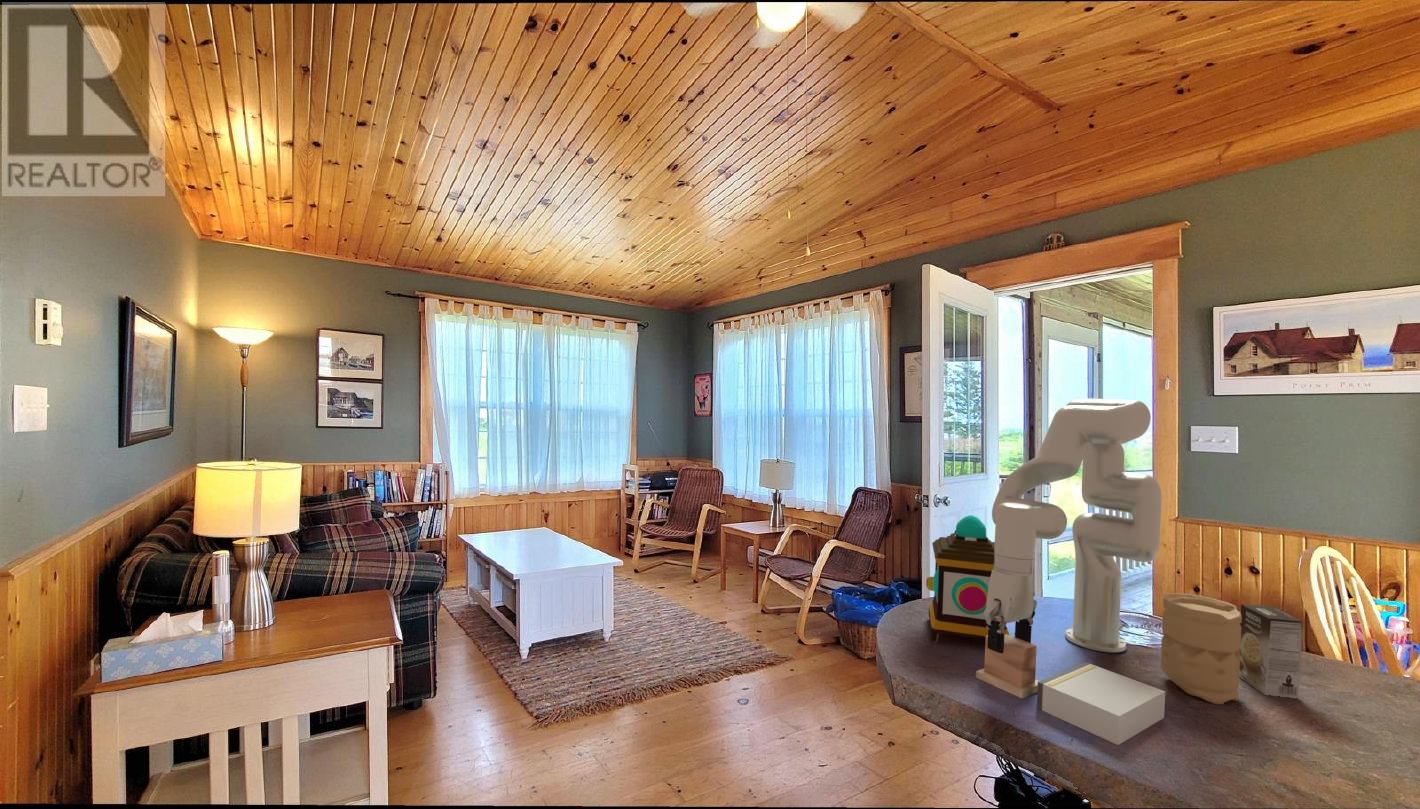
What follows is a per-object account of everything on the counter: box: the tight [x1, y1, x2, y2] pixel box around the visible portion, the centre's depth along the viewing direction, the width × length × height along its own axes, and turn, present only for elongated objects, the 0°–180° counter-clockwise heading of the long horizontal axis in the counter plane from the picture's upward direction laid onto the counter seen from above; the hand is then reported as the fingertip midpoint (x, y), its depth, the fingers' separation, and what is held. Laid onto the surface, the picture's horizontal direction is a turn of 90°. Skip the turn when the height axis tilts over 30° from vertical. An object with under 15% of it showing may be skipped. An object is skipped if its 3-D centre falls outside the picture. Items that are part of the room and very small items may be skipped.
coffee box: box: [1239, 603, 1304, 699], centre depth 127 cm, size 9×6×16 cm
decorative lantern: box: [925, 514, 1010, 644], centre depth 149 cm, size 20×20×30 cm
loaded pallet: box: [975, 634, 1040, 699], centre depth 124 cm, size 8×10×9 cm
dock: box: [1036, 661, 1166, 746], centre depth 114 cm, size 18×14×5 cm
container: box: [1160, 592, 1242, 705], centre depth 124 cm, size 13×13×18 cm
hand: (1009, 646), depth 124 cm, fingers open, 9 cm apart
